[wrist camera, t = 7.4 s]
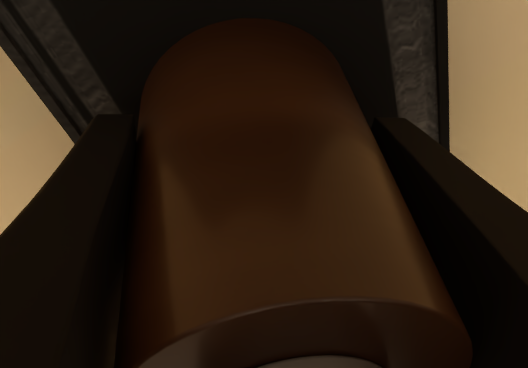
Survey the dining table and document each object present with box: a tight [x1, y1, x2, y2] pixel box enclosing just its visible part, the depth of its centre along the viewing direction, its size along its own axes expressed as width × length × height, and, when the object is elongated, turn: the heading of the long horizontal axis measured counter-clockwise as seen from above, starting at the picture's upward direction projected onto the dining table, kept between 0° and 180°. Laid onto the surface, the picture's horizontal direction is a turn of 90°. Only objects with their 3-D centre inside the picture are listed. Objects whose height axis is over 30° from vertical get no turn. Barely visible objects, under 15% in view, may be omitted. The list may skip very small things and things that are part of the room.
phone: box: [0, 0, 450, 152], centre depth 11 cm, size 8×1×15 cm
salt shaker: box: [114, 18, 473, 368], centre depth 8 cm, size 4×4×7 cm
